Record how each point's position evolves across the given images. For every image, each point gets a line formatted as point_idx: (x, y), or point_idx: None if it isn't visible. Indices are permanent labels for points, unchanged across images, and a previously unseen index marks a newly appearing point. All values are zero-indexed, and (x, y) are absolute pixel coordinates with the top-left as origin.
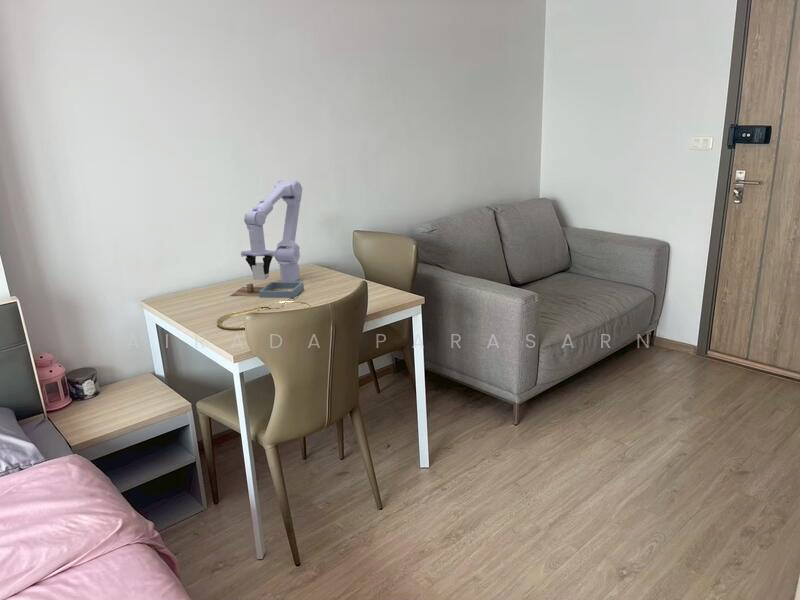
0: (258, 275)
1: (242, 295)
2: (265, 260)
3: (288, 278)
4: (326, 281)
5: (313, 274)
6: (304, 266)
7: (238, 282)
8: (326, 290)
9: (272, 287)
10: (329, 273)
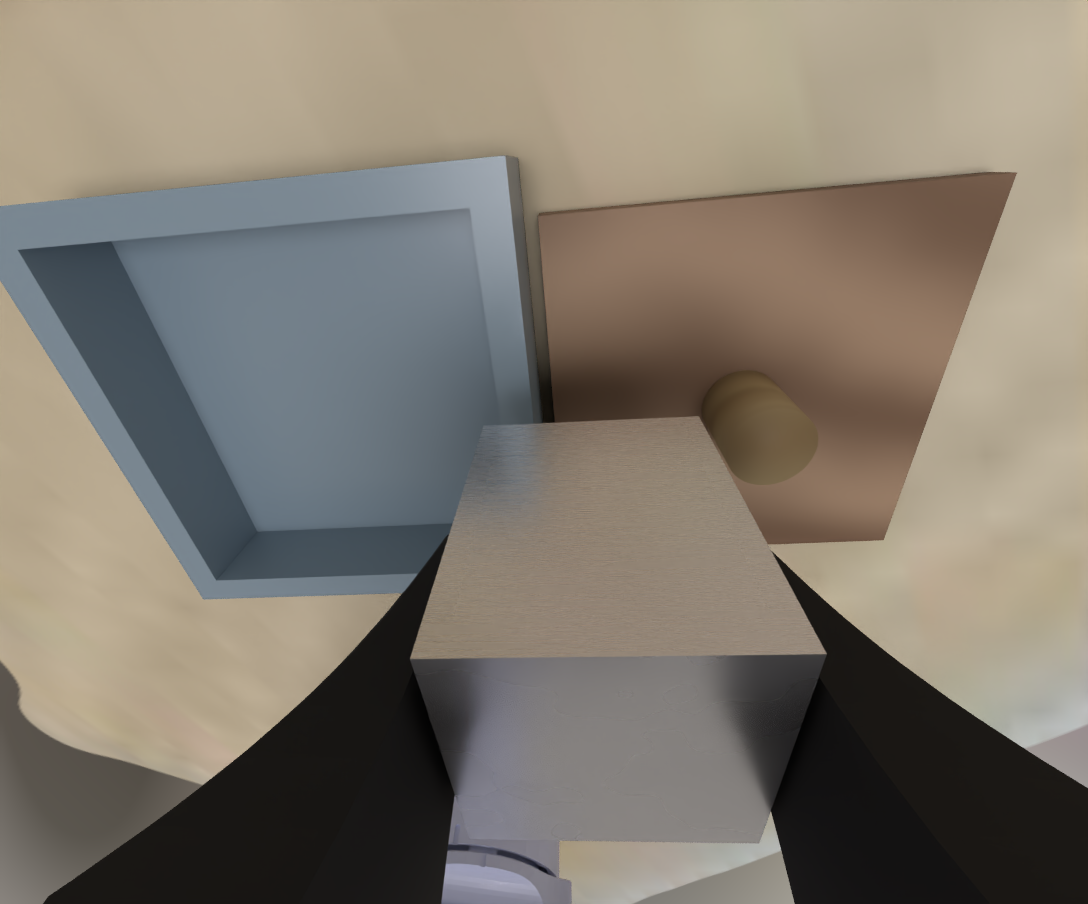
0: (594, 463)
1: (807, 223)
2: (180, 878)
3: None
4: (251, 713)
5: None
6: (573, 887)
7: (945, 677)
8: (60, 547)
9: None
10: None
